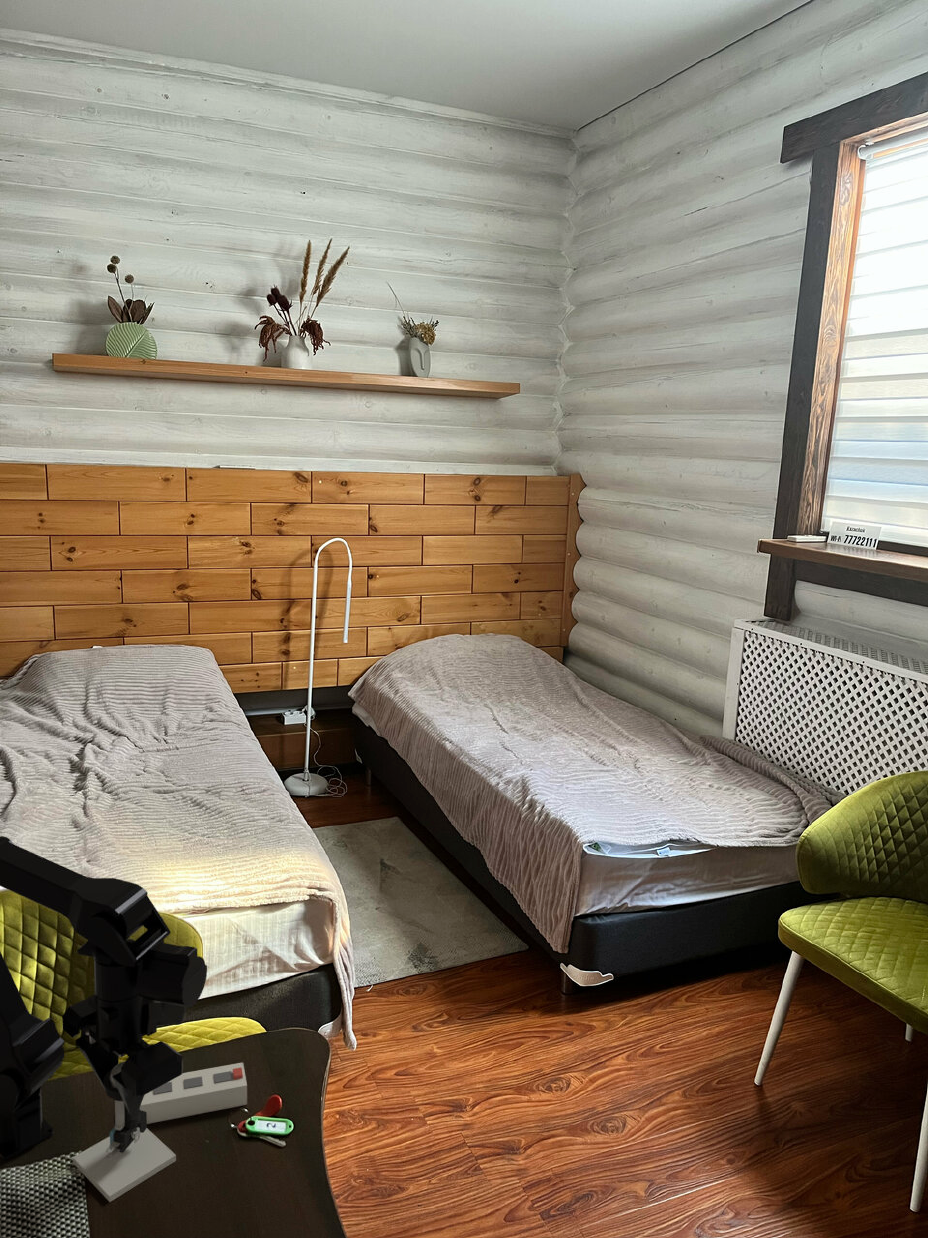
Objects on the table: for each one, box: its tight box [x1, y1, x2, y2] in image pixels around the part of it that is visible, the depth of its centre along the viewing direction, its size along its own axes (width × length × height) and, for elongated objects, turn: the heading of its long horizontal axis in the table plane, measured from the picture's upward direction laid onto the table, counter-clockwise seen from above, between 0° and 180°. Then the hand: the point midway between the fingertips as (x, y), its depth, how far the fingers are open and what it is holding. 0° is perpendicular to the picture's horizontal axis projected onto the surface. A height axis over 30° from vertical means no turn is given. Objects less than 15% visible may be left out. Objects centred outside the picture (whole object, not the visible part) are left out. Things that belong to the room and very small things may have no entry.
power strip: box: [139, 1062, 248, 1125], centre depth 127 cm, size 14×5×4 cm, turn 110°
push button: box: [103, 1060, 148, 1159], centre depth 115 cm, size 7×5×10 cm
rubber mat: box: [72, 1128, 177, 1203], centre depth 116 cm, size 9×9×1 cm
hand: (122, 1101), depth 115 cm, fingers closed on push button, 5 cm apart
